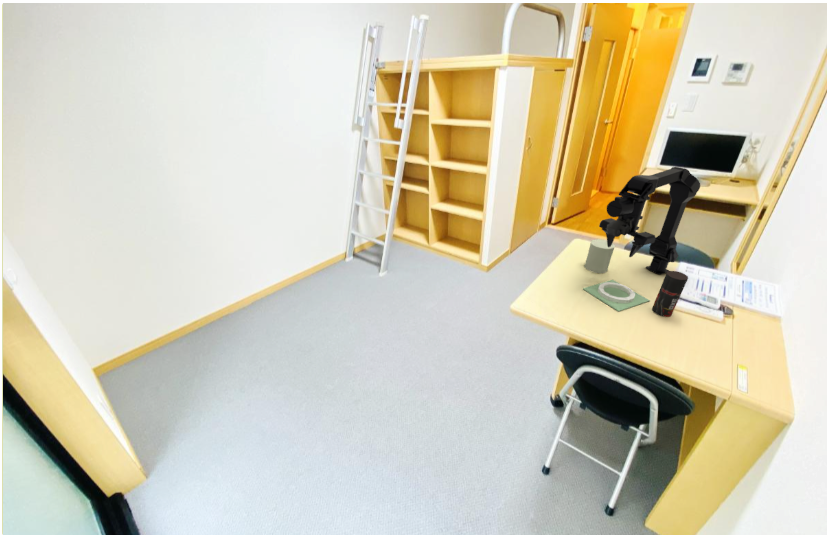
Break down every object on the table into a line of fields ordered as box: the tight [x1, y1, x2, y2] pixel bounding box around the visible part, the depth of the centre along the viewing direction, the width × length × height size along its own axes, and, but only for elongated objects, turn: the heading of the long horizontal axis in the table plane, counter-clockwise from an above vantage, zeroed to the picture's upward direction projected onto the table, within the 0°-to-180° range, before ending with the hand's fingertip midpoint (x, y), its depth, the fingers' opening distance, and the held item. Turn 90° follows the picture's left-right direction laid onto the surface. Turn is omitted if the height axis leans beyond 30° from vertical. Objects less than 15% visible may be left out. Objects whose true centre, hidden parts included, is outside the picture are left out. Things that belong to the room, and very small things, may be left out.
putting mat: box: [582, 279, 651, 313], centre depth 130 cm, size 16×16×2 cm
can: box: [583, 238, 616, 274], centre depth 146 cm, size 9×9×12 cm
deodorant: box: [651, 270, 689, 318], centre depth 117 cm, size 6×6×15 cm
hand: (619, 251), depth 130 cm, fingers open, 9 cm apart
